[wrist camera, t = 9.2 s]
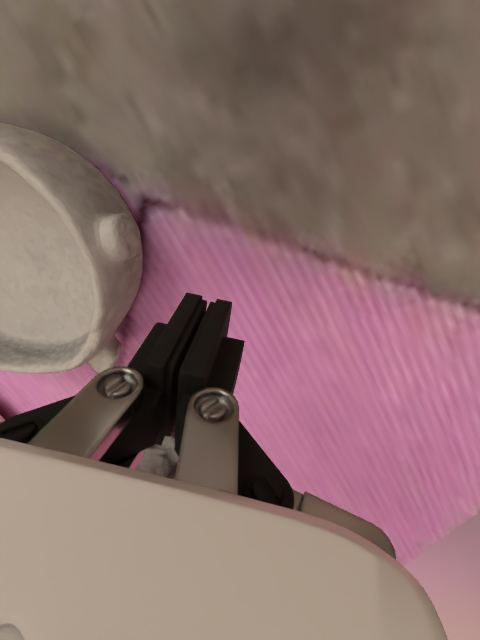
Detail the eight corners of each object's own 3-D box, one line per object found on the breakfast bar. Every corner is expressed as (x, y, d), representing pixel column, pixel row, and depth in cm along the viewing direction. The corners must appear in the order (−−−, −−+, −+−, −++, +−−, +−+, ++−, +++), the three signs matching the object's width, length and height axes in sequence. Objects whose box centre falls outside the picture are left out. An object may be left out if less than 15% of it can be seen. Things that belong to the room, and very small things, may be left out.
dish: (-71, 271, 24) (-153, 305, 19) (-60, 52, 16) (-185, 30, 12) (117, 372, 26) (80, 423, 22) (198, 218, 19) (167, 248, 14)
